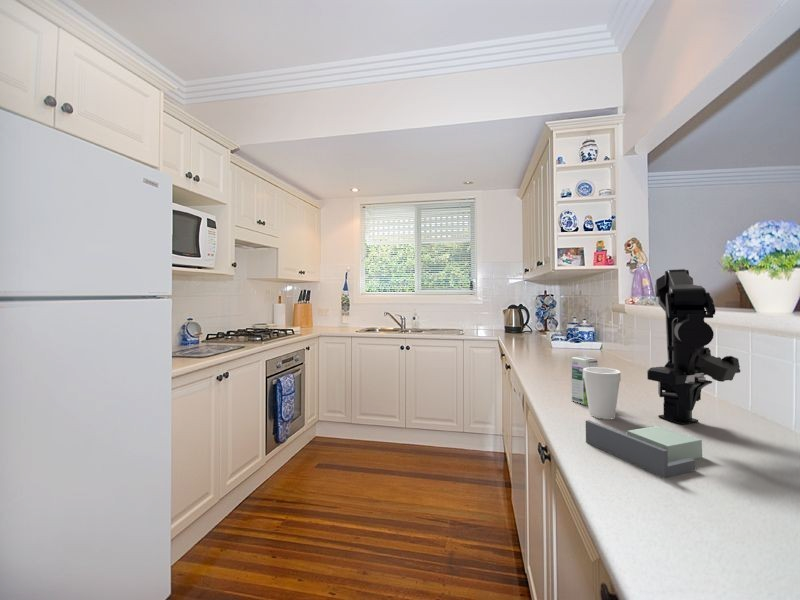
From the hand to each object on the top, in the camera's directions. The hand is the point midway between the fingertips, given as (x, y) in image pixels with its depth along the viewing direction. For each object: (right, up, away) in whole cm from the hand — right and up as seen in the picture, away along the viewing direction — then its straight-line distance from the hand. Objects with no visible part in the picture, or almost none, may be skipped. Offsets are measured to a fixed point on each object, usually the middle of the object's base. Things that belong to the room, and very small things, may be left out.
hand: (688, 410), depth 81 cm
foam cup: (-8, -8, +21) cm, 24 cm away
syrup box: (-6, -8, +34) cm, 35 cm away
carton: (-9, -8, -4) cm, 13 cm away
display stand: (-16, -8, -5) cm, 18 cm away
